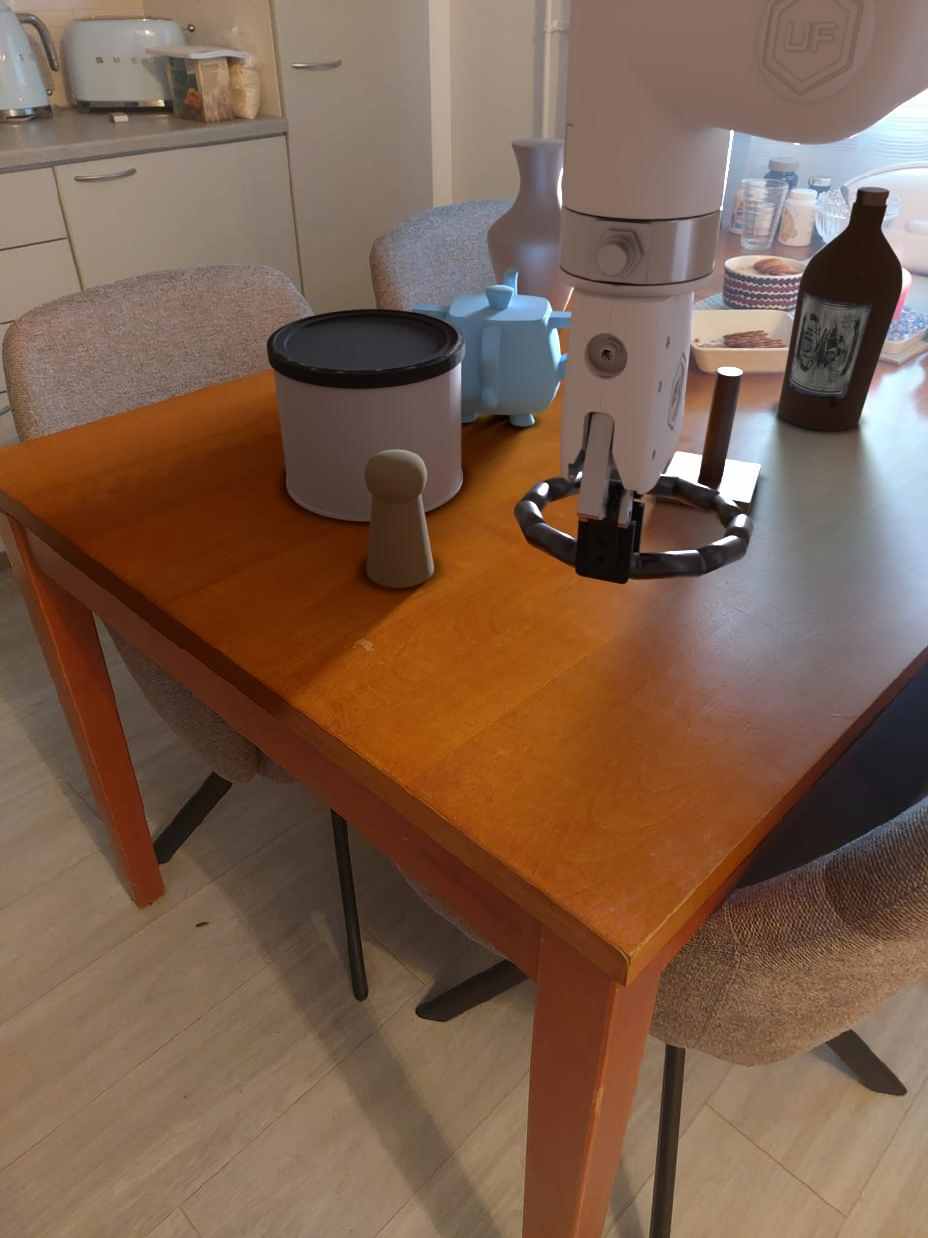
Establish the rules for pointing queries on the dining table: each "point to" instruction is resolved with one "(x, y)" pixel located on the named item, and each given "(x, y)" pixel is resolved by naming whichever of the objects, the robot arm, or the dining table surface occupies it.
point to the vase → (533, 224)
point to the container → (367, 403)
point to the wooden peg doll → (397, 520)
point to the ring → (644, 563)
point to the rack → (719, 449)
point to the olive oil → (842, 320)
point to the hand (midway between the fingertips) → (607, 566)
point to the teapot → (506, 350)
